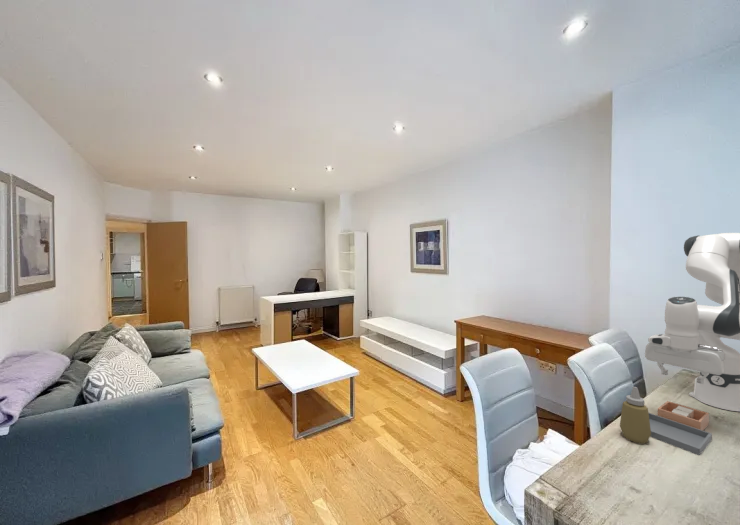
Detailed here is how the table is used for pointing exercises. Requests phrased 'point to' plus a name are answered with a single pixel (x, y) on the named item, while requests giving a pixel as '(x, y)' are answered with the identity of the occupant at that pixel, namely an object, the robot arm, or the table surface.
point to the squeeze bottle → (635, 418)
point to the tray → (679, 434)
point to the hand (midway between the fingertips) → (682, 378)
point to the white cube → (690, 411)
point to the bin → (699, 416)
